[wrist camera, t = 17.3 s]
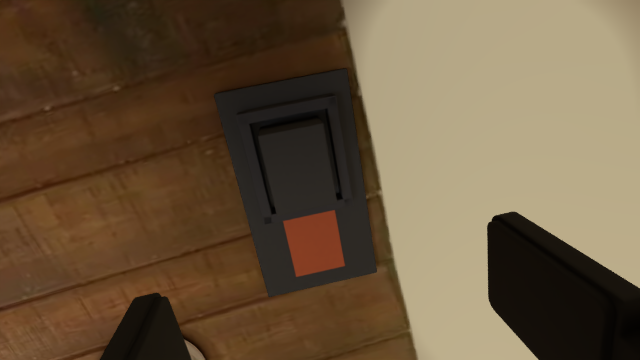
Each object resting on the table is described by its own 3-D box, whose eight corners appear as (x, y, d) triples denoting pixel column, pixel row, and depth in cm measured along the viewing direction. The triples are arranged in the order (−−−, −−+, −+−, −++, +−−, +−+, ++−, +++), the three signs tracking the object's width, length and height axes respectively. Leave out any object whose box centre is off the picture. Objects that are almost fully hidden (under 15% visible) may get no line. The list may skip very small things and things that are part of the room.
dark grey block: (259, 127, 27) (257, 136, 24) (317, 115, 28) (323, 122, 24) (276, 199, 29) (276, 216, 26) (330, 187, 29) (337, 203, 26)
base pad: (215, 93, 27) (210, 96, 25) (344, 68, 28) (351, 68, 25) (268, 290, 33) (268, 308, 31) (374, 266, 33) (381, 282, 31)
